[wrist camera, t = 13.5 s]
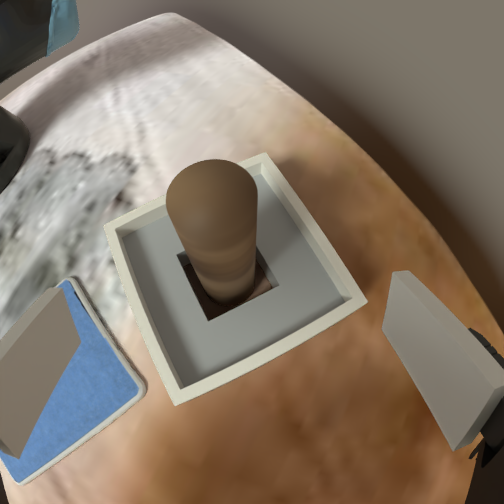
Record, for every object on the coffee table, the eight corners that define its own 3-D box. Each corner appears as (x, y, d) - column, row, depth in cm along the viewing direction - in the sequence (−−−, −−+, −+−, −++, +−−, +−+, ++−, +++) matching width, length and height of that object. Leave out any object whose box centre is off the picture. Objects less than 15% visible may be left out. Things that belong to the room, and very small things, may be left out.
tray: (121, 246, 25) (103, 225, 22) (263, 180, 28) (265, 152, 24) (187, 401, 20) (174, 406, 17) (350, 314, 23) (368, 302, 19)
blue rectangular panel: (75, 275, 25) (68, 270, 24) (153, 391, 21) (148, 392, 20) (-30, 382, 20) (-38, 381, 18) (25, 487, 16) (17, 489, 15)
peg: (195, 271, 24) (153, 181, 13) (239, 249, 25) (232, 148, 14) (217, 315, 23) (186, 253, 12) (263, 291, 24) (275, 211, 13)
